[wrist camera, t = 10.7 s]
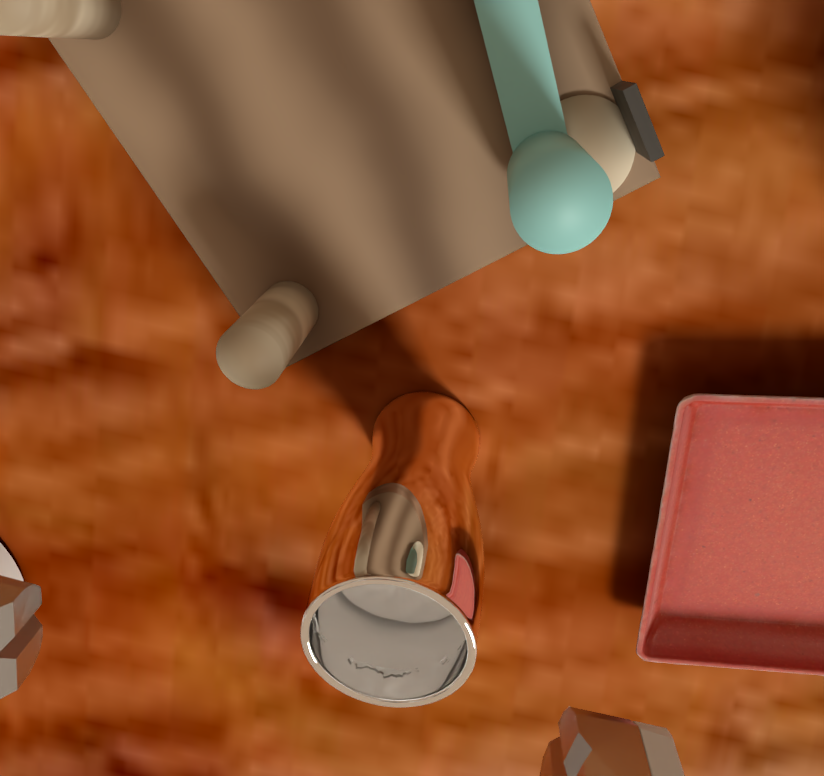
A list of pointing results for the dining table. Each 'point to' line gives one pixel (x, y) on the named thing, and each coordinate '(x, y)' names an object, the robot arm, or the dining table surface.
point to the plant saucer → (740, 537)
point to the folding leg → (540, 136)
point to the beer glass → (403, 563)
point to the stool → (330, 145)
